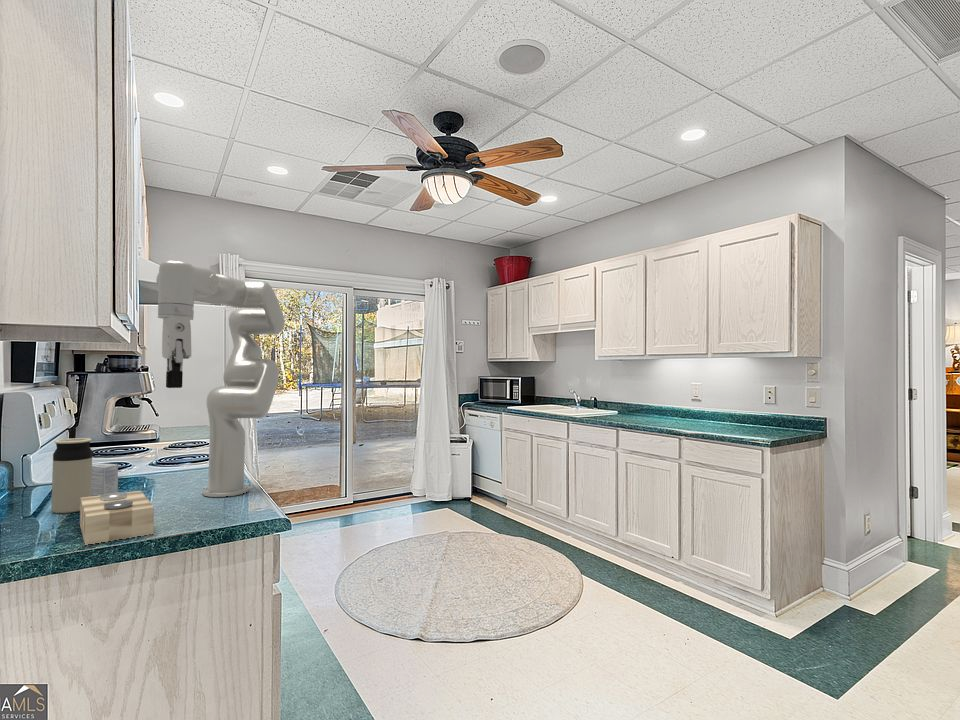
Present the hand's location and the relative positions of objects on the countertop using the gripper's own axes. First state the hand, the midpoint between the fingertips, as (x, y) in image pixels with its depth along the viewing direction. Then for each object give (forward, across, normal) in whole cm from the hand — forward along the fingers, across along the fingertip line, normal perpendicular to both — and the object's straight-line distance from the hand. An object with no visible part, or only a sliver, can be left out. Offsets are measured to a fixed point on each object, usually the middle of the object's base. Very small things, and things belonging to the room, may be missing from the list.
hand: (174, 387), depth 125 cm
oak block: (+32, 0, +11) cm, 34 cm away
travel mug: (+32, +26, +18) cm, 45 cm away
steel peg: (+32, +5, +11) cm, 34 cm away
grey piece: (+32, -5, +11) cm, 34 cm away
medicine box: (+32, +41, +11) cm, 53 cm away
